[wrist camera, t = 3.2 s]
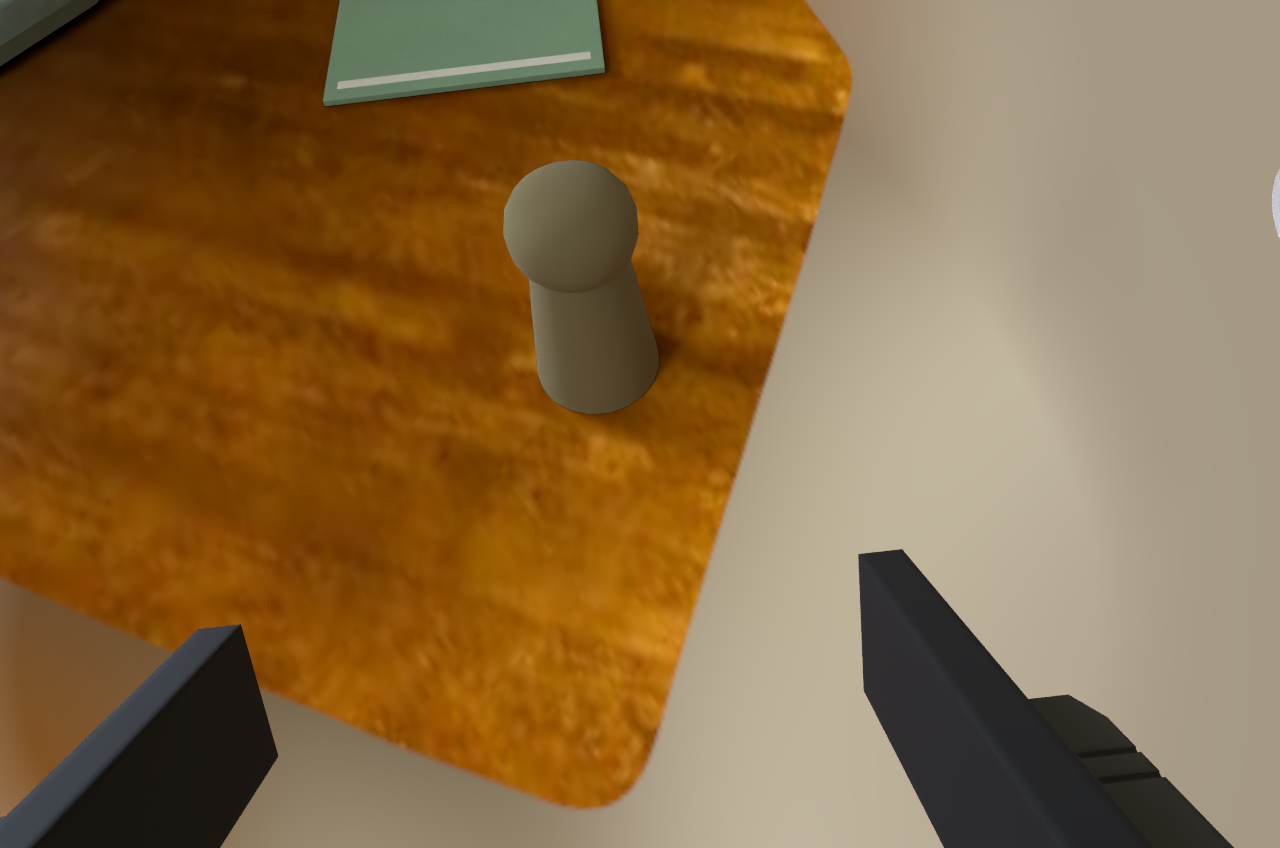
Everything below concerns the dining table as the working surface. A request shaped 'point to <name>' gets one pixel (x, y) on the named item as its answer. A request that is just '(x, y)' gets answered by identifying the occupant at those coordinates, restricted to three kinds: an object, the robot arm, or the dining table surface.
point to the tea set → (33, 22)
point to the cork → (582, 285)
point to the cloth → (457, 46)
